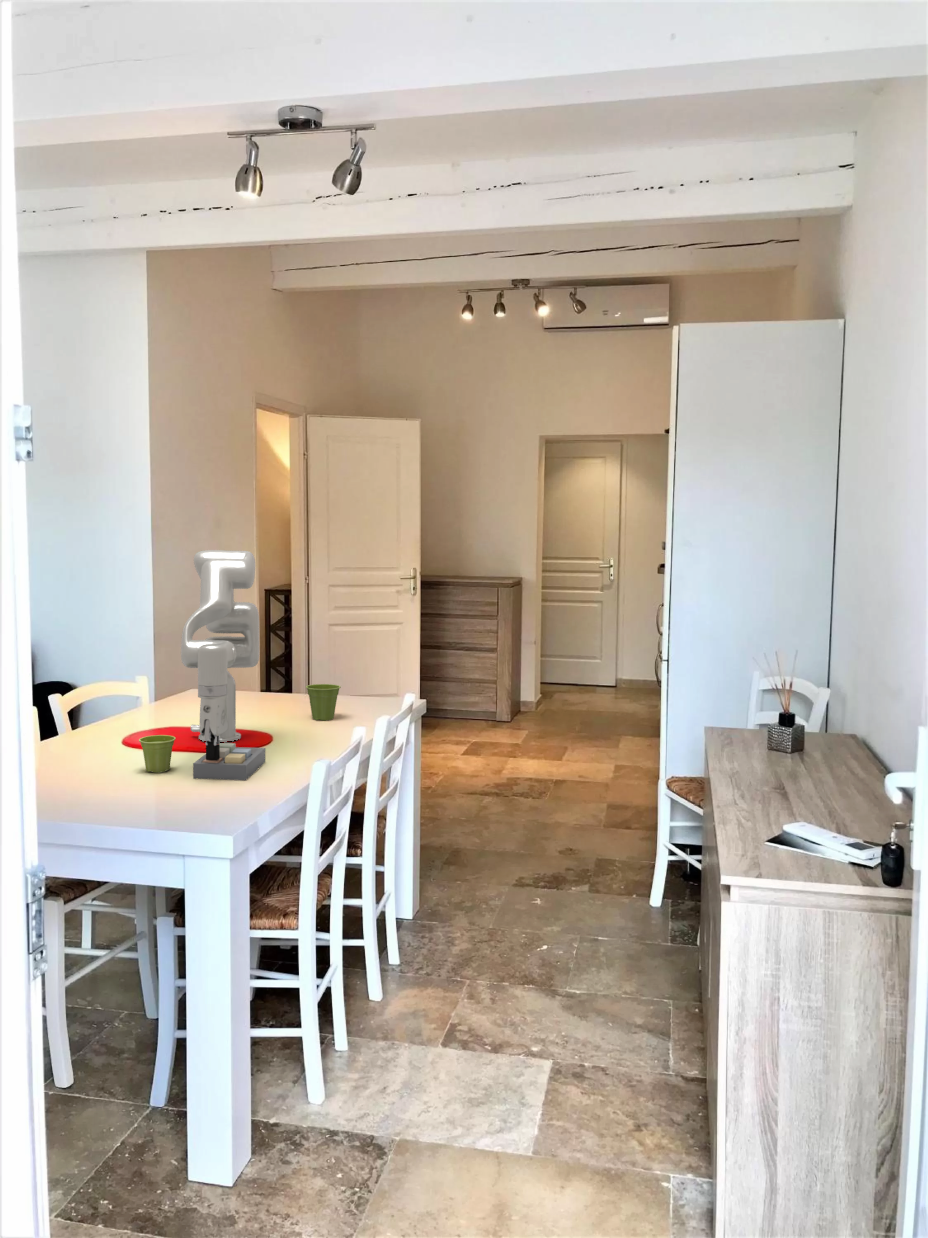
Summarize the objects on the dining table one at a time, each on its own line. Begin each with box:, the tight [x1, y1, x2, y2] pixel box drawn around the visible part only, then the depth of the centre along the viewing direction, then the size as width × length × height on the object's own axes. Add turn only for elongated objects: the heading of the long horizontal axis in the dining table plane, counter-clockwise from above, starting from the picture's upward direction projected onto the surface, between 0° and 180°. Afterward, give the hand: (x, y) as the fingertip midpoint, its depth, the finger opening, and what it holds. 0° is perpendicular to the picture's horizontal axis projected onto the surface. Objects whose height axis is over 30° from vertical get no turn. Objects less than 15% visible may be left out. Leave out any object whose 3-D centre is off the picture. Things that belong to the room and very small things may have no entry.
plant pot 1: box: [138, 734, 176, 774], centre depth 273 cm, size 9×9×9 cm
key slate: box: [232, 748, 251, 758], centre depth 275 cm, size 4×4×3 cm
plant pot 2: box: [305, 683, 342, 722], centre depth 347 cm, size 12×12×11 cm
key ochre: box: [225, 753, 245, 764], centre depth 269 cm, size 4×4×3 cm
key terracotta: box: [203, 758, 223, 763], centre depth 269 cm, size 4×4×3 cm
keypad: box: [192, 746, 266, 781], centre depth 275 cm, size 14×20×4 cm
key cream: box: [220, 748, 229, 758], centre depth 275 cm, size 4×4×3 cm
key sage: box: [219, 742, 237, 752], centre depth 281 cm, size 4×4×3 cm
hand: (212, 759), depth 269 cm, fingers closed
